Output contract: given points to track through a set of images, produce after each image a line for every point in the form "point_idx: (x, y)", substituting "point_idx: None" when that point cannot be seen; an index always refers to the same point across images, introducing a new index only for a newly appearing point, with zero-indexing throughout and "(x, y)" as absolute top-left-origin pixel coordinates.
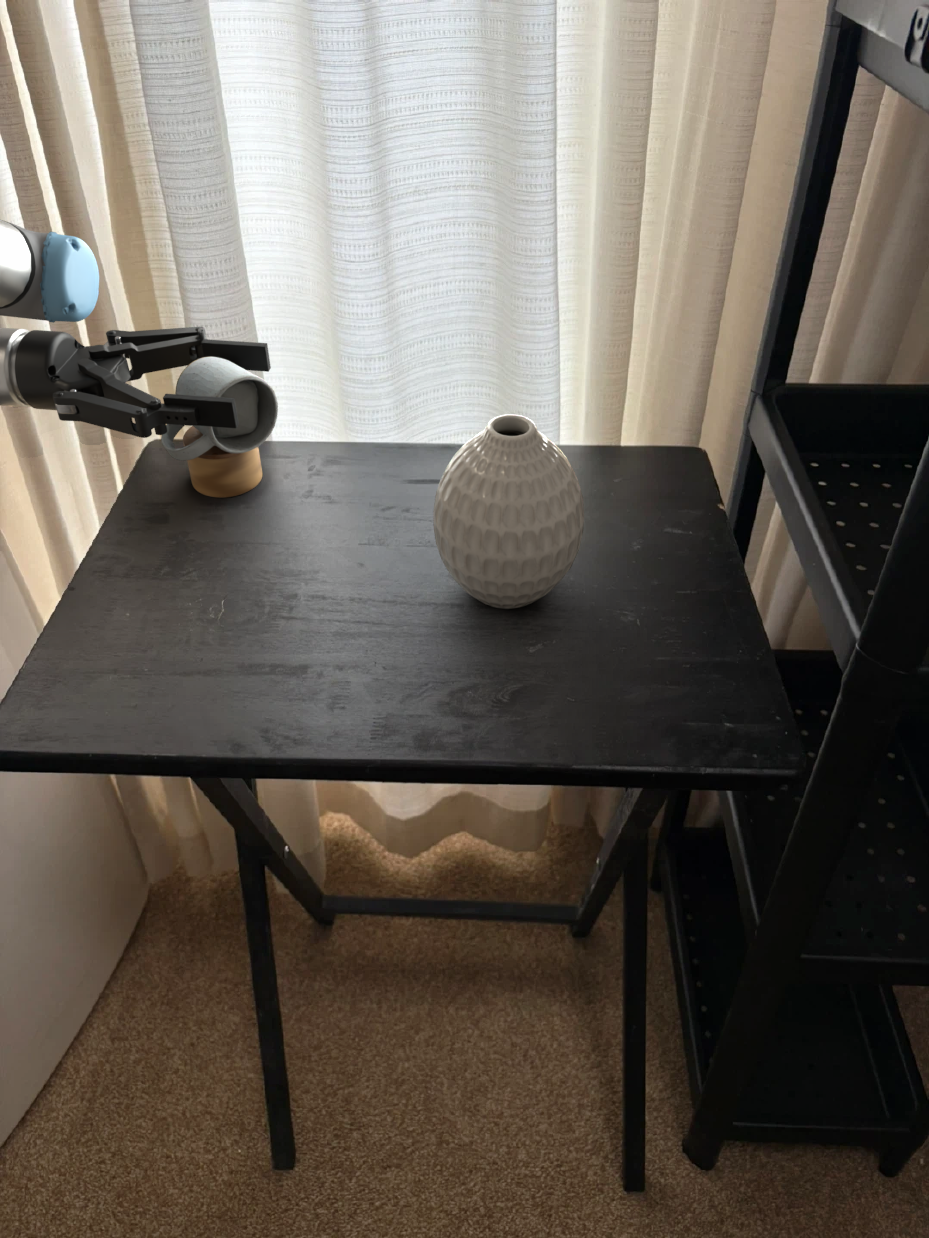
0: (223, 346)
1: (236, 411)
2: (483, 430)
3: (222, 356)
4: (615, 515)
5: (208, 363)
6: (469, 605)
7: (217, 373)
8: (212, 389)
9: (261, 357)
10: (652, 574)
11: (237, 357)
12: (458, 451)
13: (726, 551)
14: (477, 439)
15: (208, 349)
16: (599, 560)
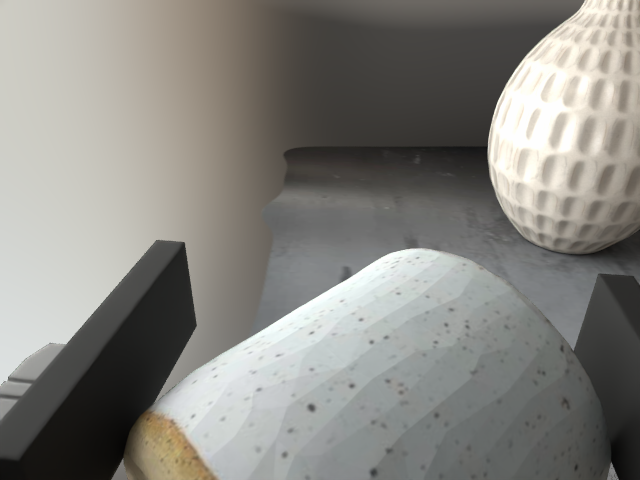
0: (99, 365)
1: (584, 320)
2: (610, 22)
3: (106, 418)
4: (400, 179)
5: (306, 388)
6: (614, 257)
7: (422, 335)
8: (533, 359)
9: (182, 291)
10: (488, 171)
11: (140, 363)
12: (623, 61)
13: (439, 146)
14: (637, 24)
15: (57, 453)
16: (479, 189)
